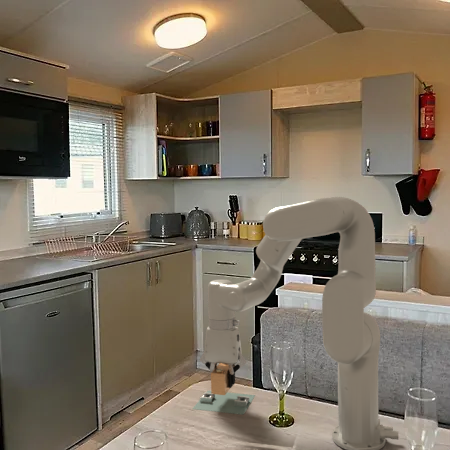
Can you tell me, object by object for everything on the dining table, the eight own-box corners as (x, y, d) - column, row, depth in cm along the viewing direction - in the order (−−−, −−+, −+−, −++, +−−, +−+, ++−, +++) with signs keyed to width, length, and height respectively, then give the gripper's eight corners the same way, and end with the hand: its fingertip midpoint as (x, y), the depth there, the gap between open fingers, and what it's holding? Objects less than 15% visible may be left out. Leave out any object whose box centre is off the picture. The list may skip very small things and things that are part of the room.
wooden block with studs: (235, 381, 148) (234, 359, 147) (224, 395, 138) (224, 372, 138) (222, 380, 149) (221, 358, 148) (211, 393, 139) (210, 370, 139)
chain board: (255, 397, 148) (255, 395, 148) (243, 417, 135) (243, 414, 135) (207, 393, 152) (207, 390, 152) (192, 411, 140) (192, 408, 140)
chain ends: (249, 401, 143) (249, 396, 143) (246, 406, 140) (246, 402, 140) (204, 397, 148) (203, 392, 147) (199, 401, 144) (199, 397, 144)
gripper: (253, 321, 143) (254, 383, 145) (199, 318, 148) (200, 377, 150) (246, 328, 136) (248, 393, 137) (189, 325, 141) (191, 387, 142)
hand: (223, 384), depth 143 cm, fingers closed on wooden block with studs, 4 cm apart
